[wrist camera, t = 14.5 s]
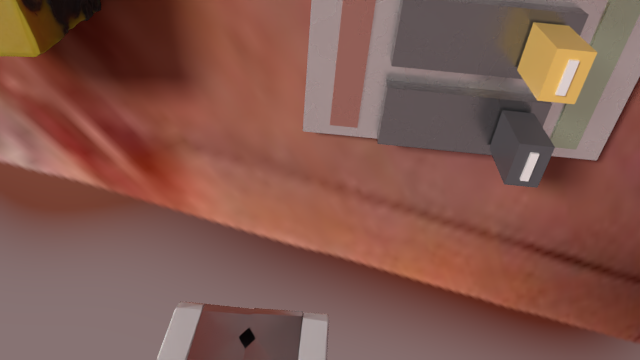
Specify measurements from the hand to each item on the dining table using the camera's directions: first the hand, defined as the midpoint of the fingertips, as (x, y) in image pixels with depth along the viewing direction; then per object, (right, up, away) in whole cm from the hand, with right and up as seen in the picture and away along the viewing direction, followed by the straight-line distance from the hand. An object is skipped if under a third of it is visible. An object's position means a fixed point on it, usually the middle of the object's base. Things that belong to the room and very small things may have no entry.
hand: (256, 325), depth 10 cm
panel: (+14, +15, +28) cm, 34 cm away
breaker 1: (+17, +7, +29) cm, 34 cm away
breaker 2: (+17, +13, +25) cm, 33 cm away
